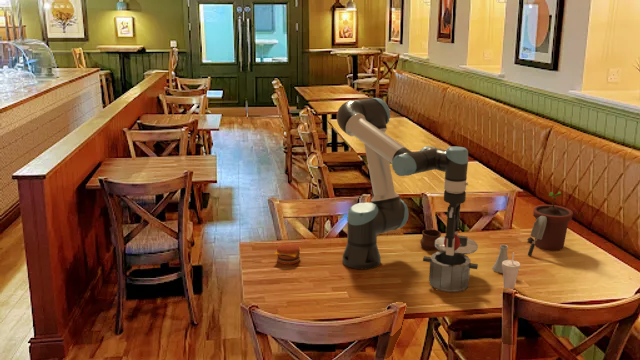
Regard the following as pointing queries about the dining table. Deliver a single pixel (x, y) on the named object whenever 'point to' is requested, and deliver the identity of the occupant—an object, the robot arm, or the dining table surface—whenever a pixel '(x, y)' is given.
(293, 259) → the hamburger
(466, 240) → the lid
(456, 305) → the dining table surface
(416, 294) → the dining table surface
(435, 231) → the ceramic pot
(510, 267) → the smoothie
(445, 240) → the onion
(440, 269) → the pot
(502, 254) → the flask
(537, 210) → the potted plant
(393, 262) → the dining table surface
